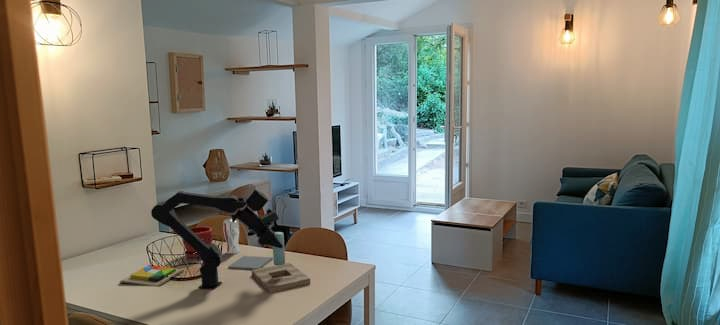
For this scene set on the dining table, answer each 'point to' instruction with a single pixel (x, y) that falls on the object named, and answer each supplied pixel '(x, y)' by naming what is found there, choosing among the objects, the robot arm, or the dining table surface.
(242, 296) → the dining table surface
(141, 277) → the wooden puzzle
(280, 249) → the pale teal peg
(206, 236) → the plant pot
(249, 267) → the slate tile
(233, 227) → the white can
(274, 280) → the walnut puzzle board
